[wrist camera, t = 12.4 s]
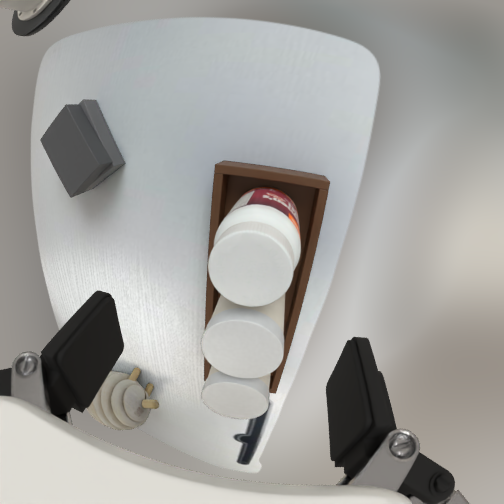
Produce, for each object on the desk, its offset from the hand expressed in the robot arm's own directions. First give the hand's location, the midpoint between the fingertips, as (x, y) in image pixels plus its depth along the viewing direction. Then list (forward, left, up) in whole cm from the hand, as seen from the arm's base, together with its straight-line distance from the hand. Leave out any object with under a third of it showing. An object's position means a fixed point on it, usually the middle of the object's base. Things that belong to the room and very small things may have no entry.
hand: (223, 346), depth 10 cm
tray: (+9, -2, -19) cm, 21 cm away
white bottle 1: (+7, -1, -18) cm, 19 cm away
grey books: (-10, -19, -19) cm, 28 cm away
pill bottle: (0, 0, -18) cm, 18 cm away
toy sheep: (+28, -26, -19) cm, 42 cm away
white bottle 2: (+14, -3, -18) cm, 23 cm away
